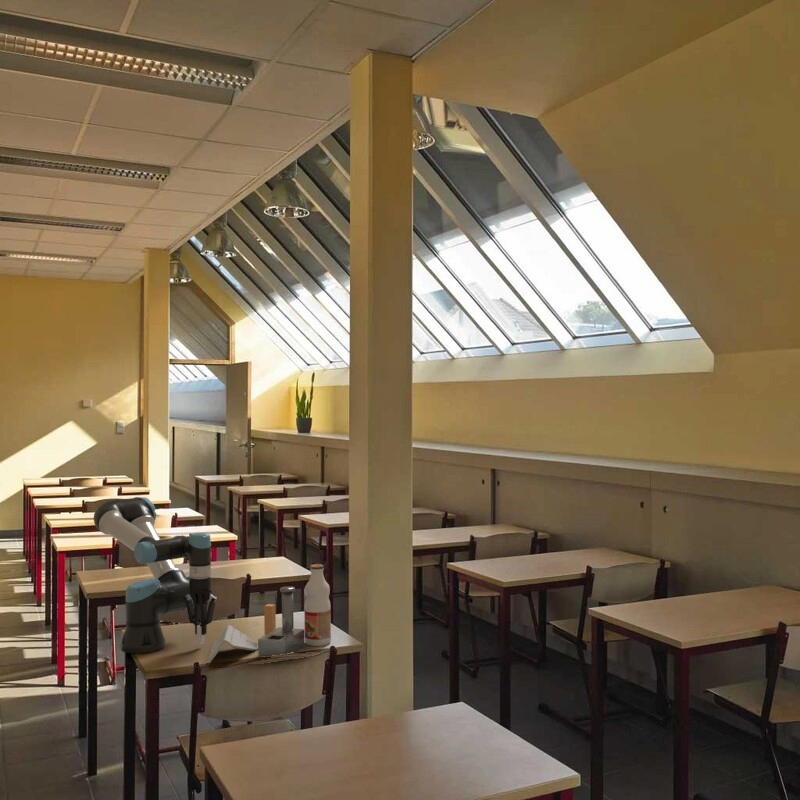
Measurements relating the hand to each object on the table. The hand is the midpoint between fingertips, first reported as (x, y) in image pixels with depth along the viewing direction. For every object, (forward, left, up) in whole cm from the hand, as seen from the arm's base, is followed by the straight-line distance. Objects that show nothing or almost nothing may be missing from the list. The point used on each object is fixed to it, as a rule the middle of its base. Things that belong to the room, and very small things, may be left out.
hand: (200, 643), depth 293 cm
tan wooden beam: (+20, +15, -2) cm, 25 cm away
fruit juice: (+38, +17, -2) cm, 41 cm away
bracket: (+15, -3, -2) cm, 15 cm away
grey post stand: (+30, +4, -2) cm, 30 cm away
